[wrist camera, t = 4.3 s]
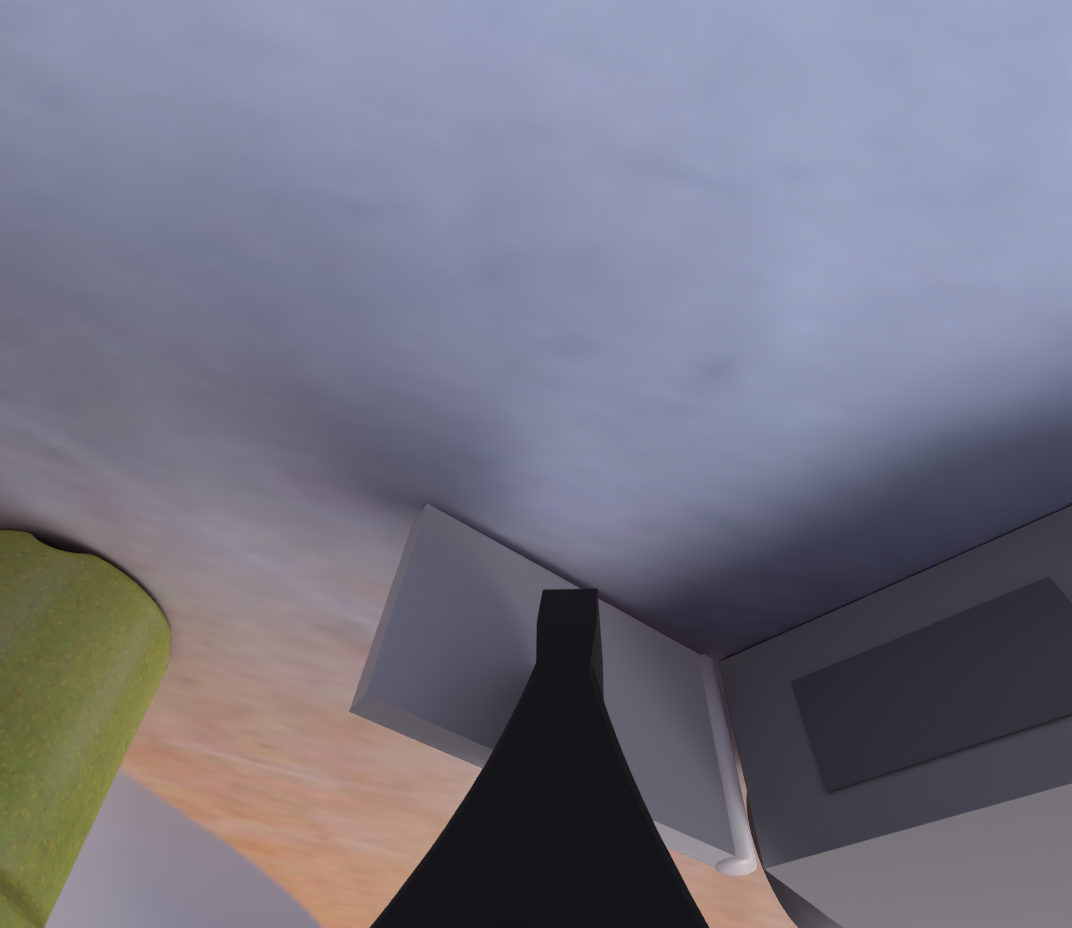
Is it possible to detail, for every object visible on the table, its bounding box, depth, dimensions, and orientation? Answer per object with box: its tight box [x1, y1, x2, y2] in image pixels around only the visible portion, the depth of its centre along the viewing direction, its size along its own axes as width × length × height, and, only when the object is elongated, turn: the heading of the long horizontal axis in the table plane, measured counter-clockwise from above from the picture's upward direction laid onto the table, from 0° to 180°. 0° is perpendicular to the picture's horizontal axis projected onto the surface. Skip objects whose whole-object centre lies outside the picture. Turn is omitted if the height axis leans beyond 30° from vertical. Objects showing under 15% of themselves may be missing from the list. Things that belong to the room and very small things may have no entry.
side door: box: [349, 504, 757, 876], centre depth 13 cm, size 9×1×5 cm, turn 55°
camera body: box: [719, 505, 1072, 928], centre depth 14 cm, size 14×8×6 cm, turn 131°
